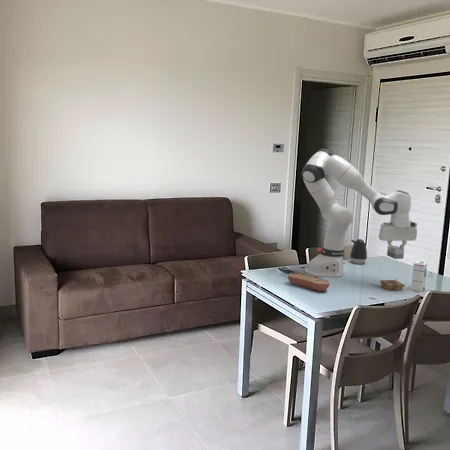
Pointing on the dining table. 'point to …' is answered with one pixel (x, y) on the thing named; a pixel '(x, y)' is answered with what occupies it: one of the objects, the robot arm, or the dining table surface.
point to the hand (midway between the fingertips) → (396, 248)
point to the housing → (395, 252)
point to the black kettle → (358, 252)
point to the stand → (391, 285)
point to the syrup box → (419, 276)
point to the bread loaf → (308, 281)
